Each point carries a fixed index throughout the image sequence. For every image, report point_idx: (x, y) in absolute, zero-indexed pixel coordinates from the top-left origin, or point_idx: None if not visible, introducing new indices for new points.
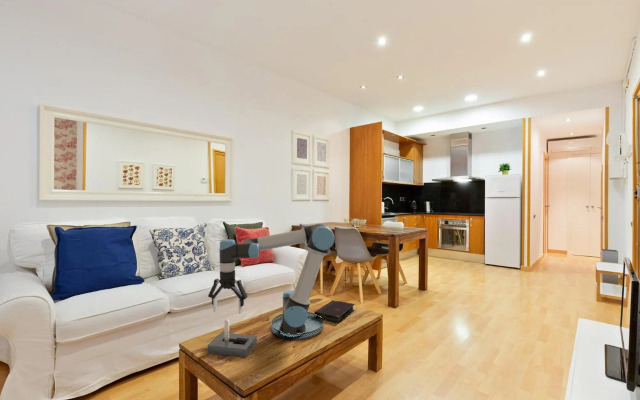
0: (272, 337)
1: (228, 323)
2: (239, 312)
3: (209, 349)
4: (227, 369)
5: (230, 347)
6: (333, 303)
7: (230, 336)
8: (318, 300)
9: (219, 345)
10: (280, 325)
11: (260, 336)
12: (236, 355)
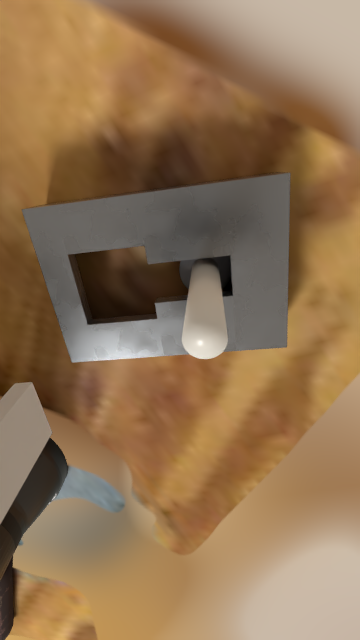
0: (56, 403)
1: (184, 322)
2: (14, 391)
3: (270, 174)
4: (53, 38)
5: (123, 197)
6: None
7: None
8: (76, 637)
9: (207, 197)
10: (36, 469)
11: (110, 398)
12: (96, 197)
